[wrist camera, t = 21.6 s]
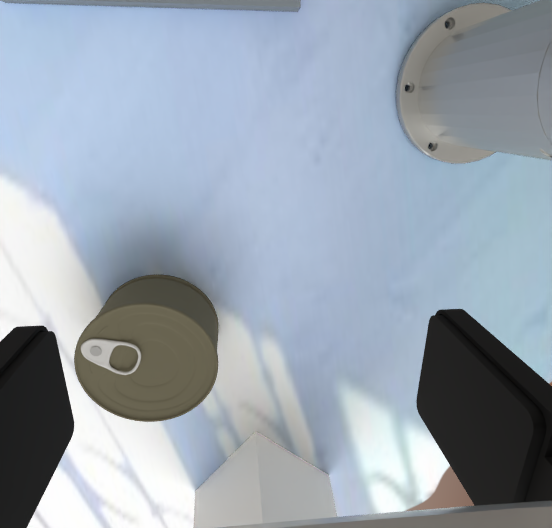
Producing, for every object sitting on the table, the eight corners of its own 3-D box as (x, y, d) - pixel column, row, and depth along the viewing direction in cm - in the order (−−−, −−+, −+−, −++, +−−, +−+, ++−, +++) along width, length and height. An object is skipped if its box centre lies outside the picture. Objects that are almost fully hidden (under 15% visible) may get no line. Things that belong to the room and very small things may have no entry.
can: (197, 388, 44) (191, 435, 38) (85, 357, 41) (58, 401, 35) (237, 295, 41) (238, 330, 34) (118, 254, 38) (95, 283, 32)
